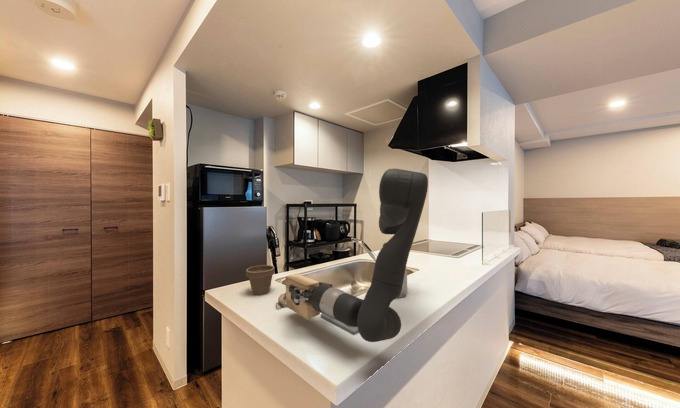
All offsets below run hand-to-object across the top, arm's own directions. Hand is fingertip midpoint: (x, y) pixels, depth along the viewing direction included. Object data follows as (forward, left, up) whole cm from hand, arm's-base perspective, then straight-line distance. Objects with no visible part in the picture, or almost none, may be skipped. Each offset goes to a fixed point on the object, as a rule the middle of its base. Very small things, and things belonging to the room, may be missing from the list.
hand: (297, 286), depth 81 cm
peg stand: (-10, +12, -10) cm, 19 cm away
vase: (-2, -11, -11) cm, 15 cm away
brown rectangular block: (0, +3, -7) cm, 8 cm away
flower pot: (-2, -30, -11) cm, 32 cm away
